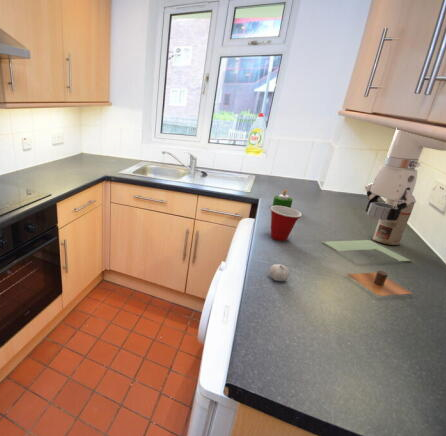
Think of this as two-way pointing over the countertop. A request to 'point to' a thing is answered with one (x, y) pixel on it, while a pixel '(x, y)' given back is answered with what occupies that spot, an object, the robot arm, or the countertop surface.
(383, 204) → the tape roll
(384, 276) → the stand
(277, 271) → the garlic
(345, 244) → the mat
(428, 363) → the countertop surface
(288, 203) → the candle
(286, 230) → the plastic cup
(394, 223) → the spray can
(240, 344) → the countertop surface
